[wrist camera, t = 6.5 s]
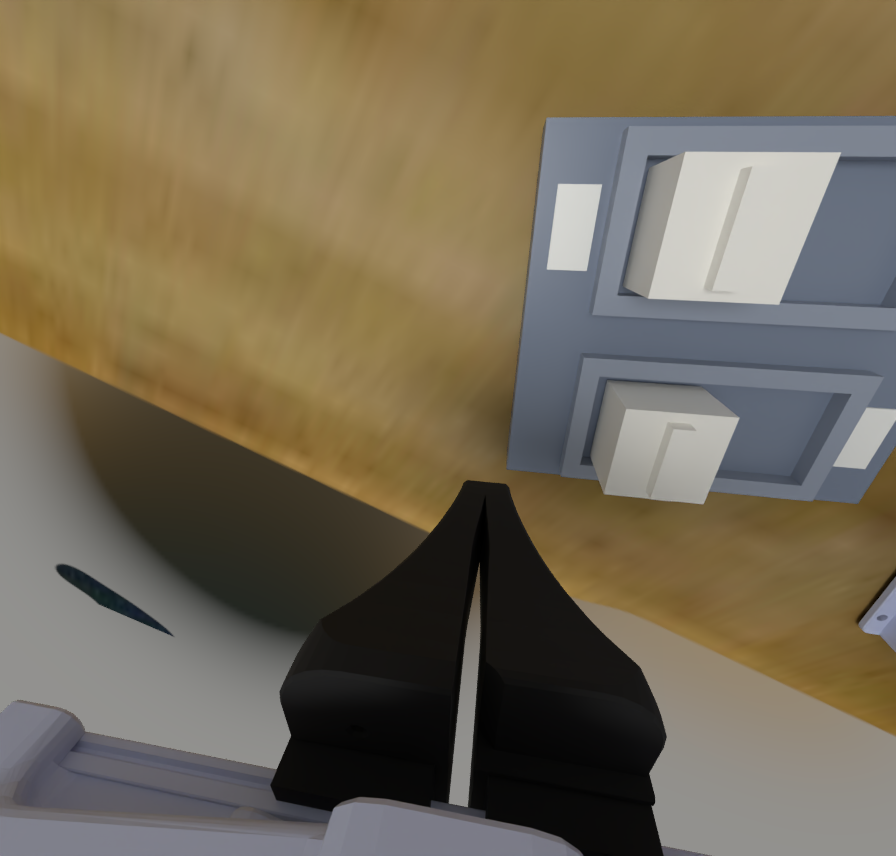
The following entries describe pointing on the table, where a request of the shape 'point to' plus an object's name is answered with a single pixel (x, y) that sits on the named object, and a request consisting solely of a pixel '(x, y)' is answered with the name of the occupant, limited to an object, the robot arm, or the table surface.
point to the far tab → (660, 441)
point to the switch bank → (714, 309)
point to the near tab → (725, 224)
